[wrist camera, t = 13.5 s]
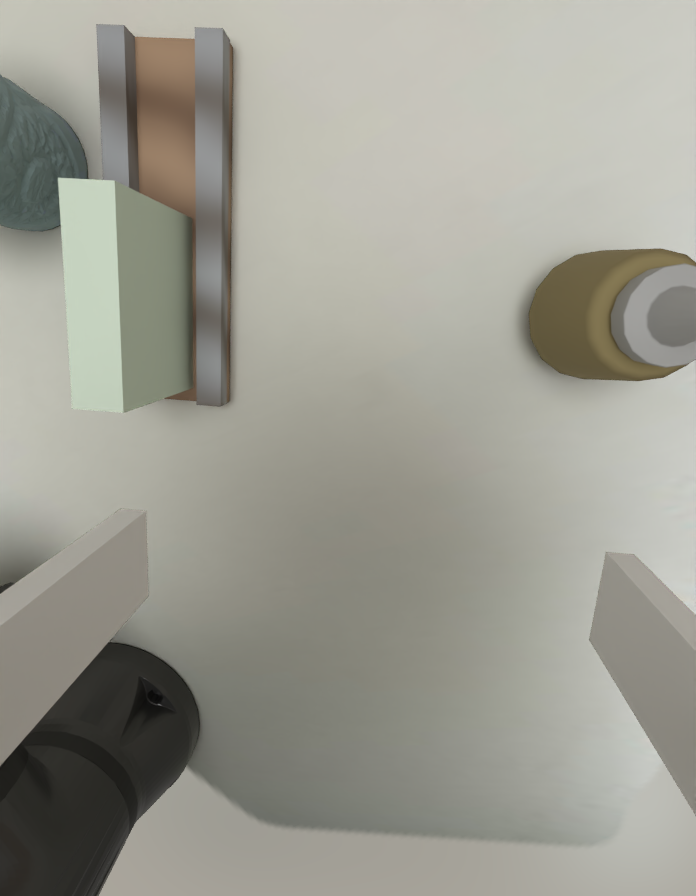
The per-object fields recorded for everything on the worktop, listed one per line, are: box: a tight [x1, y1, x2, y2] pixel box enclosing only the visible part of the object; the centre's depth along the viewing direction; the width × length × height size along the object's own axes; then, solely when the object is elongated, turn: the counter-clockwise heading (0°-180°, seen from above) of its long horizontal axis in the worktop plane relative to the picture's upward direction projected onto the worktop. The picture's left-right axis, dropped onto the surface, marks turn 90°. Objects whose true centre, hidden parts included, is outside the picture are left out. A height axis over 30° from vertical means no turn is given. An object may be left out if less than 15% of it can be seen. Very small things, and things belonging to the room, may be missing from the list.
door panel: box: [58, 178, 193, 413], centre depth 34 cm, size 12×3×11 cm, turn 176°
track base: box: [96, 24, 233, 406], centre depth 38 cm, size 24×8×2 cm, turn 176°
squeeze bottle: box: [529, 249, 696, 381], centre depth 30 cm, size 8×8×18 cm
